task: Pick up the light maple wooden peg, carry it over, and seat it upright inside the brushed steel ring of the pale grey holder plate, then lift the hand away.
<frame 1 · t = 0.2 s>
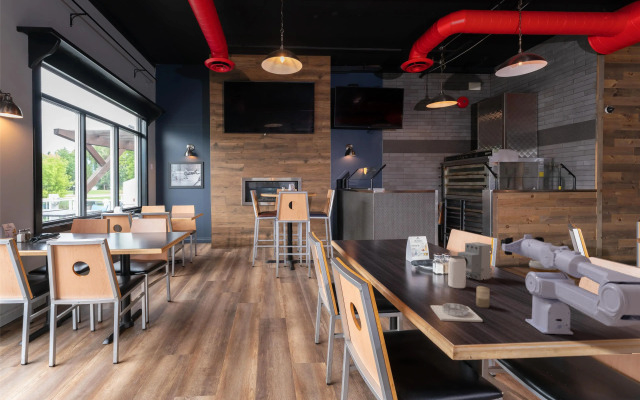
hand: (513, 242, 118), 21 cm above the table, tool horizontal, fingers open, 7 cm apart
peg holder: (455, 314, 108), on the table
can: (456, 287, 140), on the table
maple peg: (482, 305, 117), on the table
circuit breaker: (472, 278, 154), on the table
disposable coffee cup: (542, 293, 132), on the table
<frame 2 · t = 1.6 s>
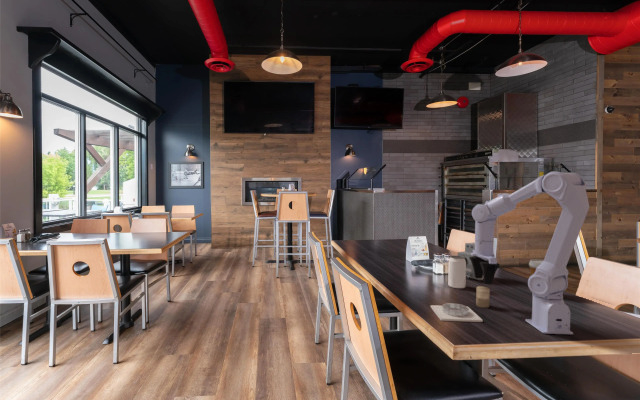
hand: (483, 280, 116), 8 cm above the table, tool pointing down, fingers open, 7 cm apart
nothing on the table moved.
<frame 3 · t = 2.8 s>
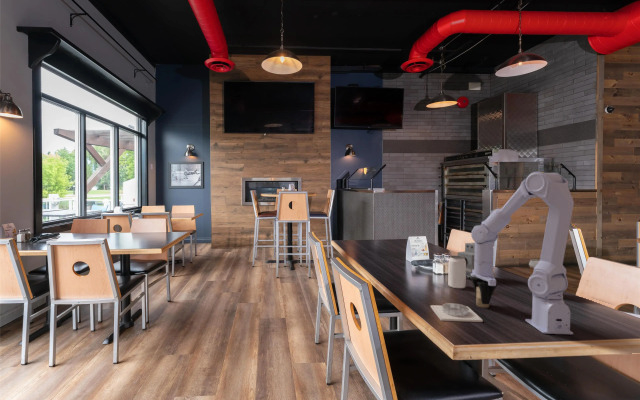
hand: (482, 301, 117), 1 cm above the table, tool pointing down, fingers closed on maple peg, 4 cm apart
maple peg: (482, 305, 117), on the table, touching gripper
everything else where it was.
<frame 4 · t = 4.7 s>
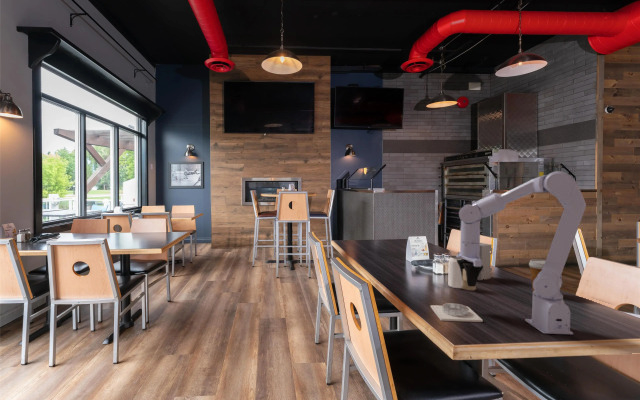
hand: (468, 284, 112), 8 cm above the table, tool pointing down, fingers closed on maple peg, 4 cm apart
maple peg: (469, 288, 112), point 7 cm above the table, touching gripper
everything else where it was.
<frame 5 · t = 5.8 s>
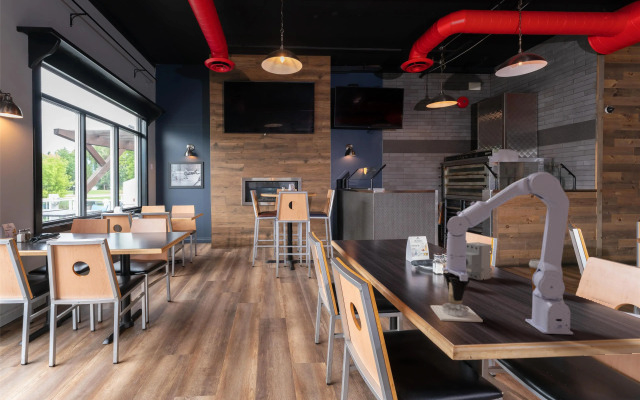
hand: (455, 298, 108), 5 cm above the table, tool pointing down, fingers closed on maple peg, 4 cm apart
maple peg: (455, 302, 108), point 4 cm above the table, touching gripper
everything else where it was.
when the fingers open (3 cm above the table, at t = 6.5 s): maple peg drops 1 cm, resting on peg holder.
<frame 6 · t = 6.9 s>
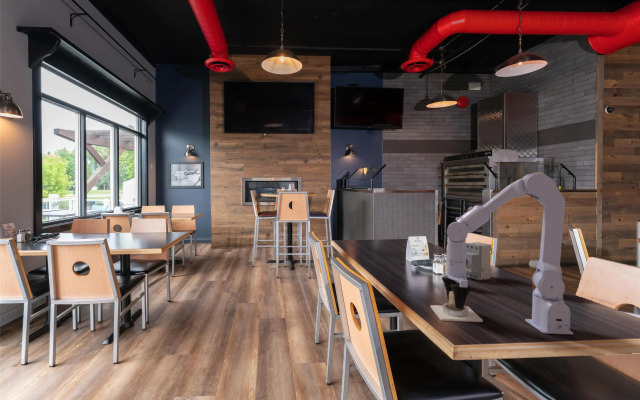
hand: (455, 303, 108), 3 cm above the table, tool pointing down, fingers open, 7 cm apart
maple peg: (455, 312, 108), point 1 cm above the table, touching peg holder
everything else where it was.
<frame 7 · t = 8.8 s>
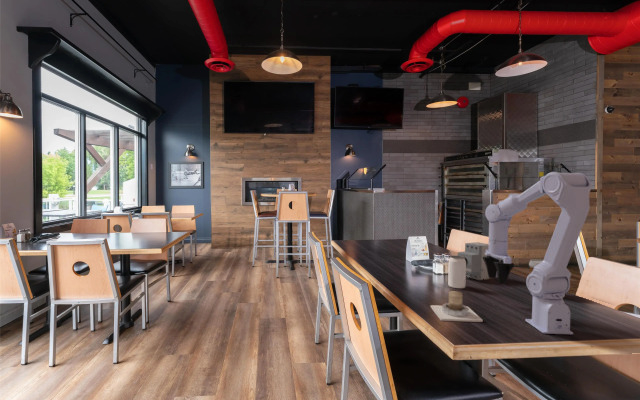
hand: (497, 280, 117), 8 cm above the table, tool pointing down, fingers open, 7 cm apart
nothing on the table moved.
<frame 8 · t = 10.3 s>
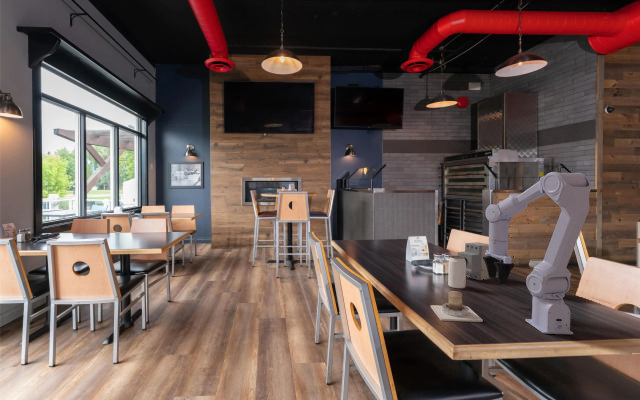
hand: (497, 280, 117), 8 cm above the table, tool pointing down, fingers open, 7 cm apart
nothing on the table moved.
at the end: maple peg 0.1 cm off-centre on the peg holder, point 0.7 cm above the peg holder's base; maple peg tilted 2°; the gripper is holding nothing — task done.
